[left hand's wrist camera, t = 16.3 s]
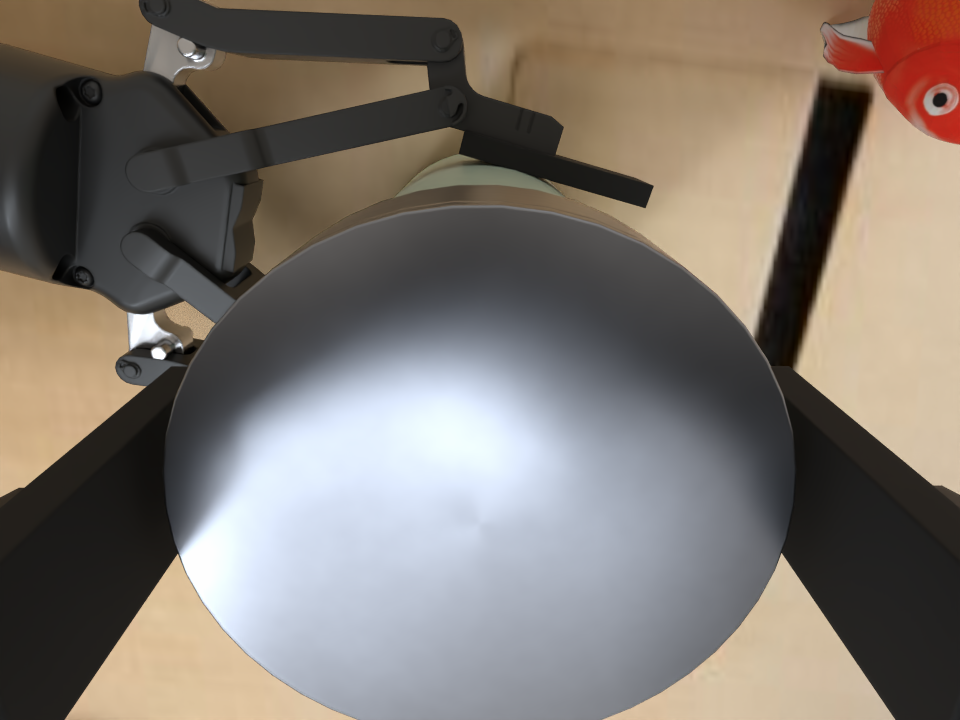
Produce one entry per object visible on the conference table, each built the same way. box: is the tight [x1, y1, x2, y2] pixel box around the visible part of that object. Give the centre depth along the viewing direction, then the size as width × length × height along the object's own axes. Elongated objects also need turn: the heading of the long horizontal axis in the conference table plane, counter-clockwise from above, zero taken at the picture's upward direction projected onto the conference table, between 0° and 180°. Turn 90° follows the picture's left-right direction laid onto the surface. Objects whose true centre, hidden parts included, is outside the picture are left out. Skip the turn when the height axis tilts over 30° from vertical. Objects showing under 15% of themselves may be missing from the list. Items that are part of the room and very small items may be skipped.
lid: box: [163, 185, 796, 720], centre depth 11 cm, size 10×10×2 cm
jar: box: [394, 154, 566, 198], centre depth 20 cm, size 9×9×20 cm
